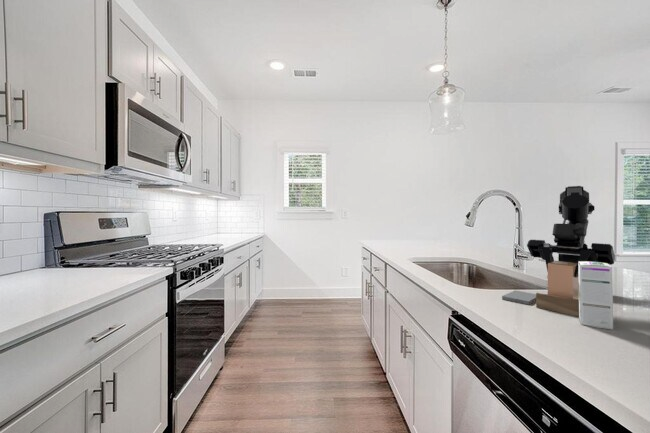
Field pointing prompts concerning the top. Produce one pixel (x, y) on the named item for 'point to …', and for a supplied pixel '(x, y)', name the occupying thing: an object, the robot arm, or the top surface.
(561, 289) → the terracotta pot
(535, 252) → the robot arm
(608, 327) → the syrup box
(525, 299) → the slate tile
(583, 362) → the top surface
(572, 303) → the frame
